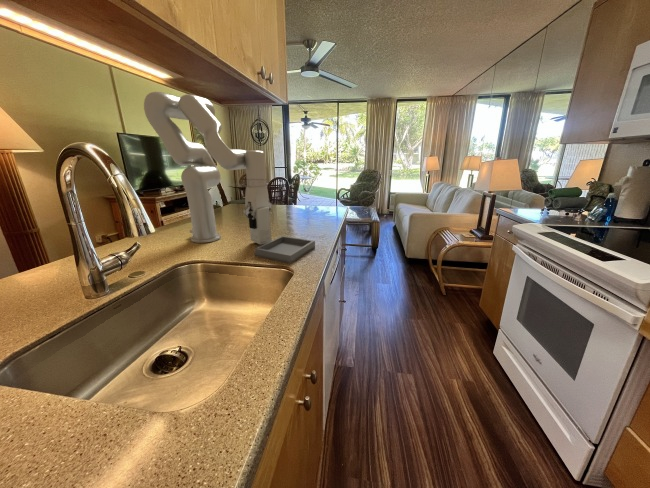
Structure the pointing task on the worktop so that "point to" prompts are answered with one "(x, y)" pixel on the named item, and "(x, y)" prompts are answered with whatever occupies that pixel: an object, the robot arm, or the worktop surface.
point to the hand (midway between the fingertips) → (259, 225)
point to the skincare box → (261, 227)
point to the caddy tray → (285, 249)
